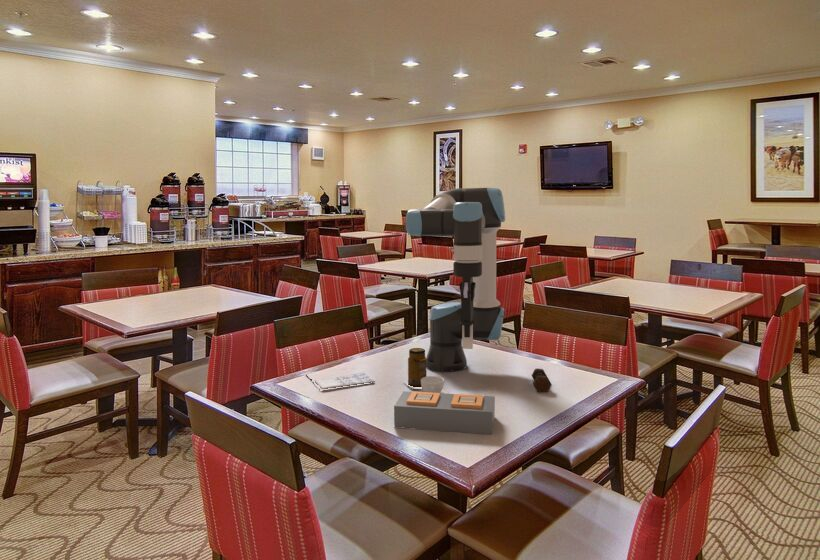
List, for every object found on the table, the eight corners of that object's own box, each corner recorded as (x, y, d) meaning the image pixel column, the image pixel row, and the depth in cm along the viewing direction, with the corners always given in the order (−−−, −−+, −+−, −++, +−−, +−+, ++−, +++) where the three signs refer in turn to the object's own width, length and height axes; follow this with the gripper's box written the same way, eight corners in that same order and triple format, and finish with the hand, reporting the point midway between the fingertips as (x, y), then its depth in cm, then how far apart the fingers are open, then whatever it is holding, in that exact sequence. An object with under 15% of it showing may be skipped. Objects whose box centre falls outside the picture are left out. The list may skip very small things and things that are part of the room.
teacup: (416, 388, 180) (416, 375, 179) (447, 388, 179) (447, 374, 179) (416, 399, 170) (416, 385, 169) (449, 399, 169) (449, 384, 169)
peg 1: (418, 416, 155) (417, 394, 154) (432, 417, 154) (432, 394, 153) (415, 422, 151) (415, 399, 150) (429, 423, 150) (429, 399, 149)
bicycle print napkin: (320, 393, 177) (319, 387, 177) (305, 376, 195) (304, 370, 195) (375, 385, 185) (375, 379, 184) (356, 369, 203) (356, 363, 203)
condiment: (423, 380, 188) (423, 346, 186) (432, 388, 180) (432, 352, 178) (403, 383, 185) (402, 348, 184) (411, 390, 177) (411, 354, 176)
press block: (403, 411, 160) (403, 388, 159) (494, 417, 154) (494, 393, 154) (394, 427, 148) (394, 403, 147) (492, 434, 143) (492, 409, 142)
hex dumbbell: (540, 383, 189) (544, 396, 174) (527, 375, 190) (530, 388, 175) (549, 369, 188) (554, 381, 174) (535, 361, 189) (540, 373, 174)
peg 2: (460, 419, 152) (460, 396, 151) (475, 420, 152) (475, 397, 151) (459, 425, 148) (459, 401, 148) (474, 426, 148) (474, 402, 147)
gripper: (456, 258, 153) (456, 341, 156) (450, 263, 140) (450, 354, 143) (483, 258, 151) (483, 342, 155) (480, 264, 138) (479, 355, 142)
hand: (467, 347), depth 149 cm, fingers closed
